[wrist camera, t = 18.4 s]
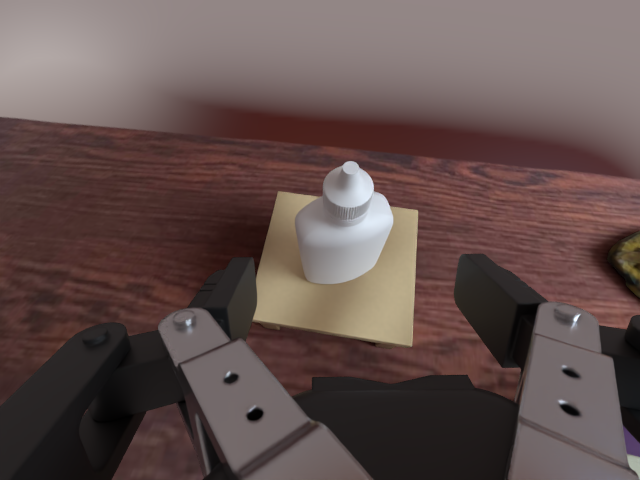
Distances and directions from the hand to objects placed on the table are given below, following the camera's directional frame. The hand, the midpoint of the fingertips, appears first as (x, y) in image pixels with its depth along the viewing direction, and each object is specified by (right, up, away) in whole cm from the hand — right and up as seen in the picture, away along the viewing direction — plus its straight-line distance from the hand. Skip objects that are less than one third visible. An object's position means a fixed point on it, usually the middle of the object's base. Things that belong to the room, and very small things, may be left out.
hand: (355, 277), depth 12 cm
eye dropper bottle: (0, 0, +12) cm, 12 cm away
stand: (0, -3, +18) cm, 18 cm away
